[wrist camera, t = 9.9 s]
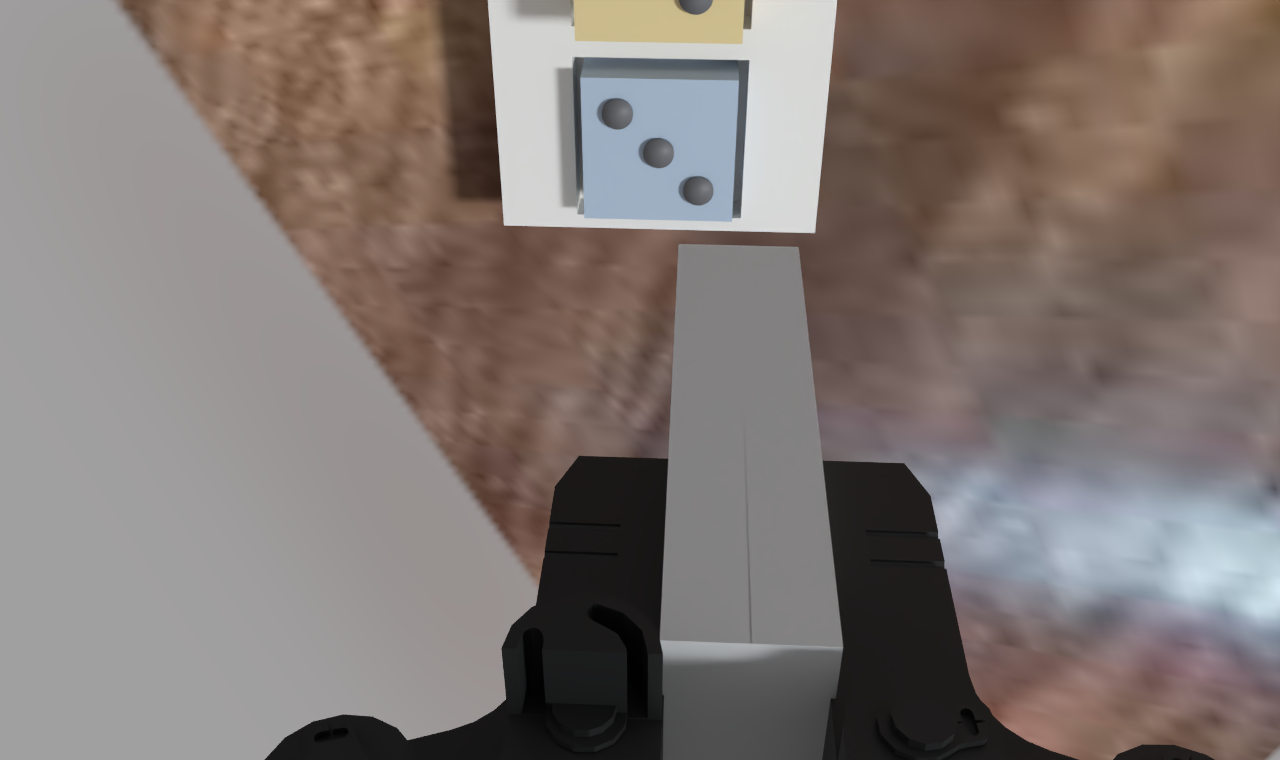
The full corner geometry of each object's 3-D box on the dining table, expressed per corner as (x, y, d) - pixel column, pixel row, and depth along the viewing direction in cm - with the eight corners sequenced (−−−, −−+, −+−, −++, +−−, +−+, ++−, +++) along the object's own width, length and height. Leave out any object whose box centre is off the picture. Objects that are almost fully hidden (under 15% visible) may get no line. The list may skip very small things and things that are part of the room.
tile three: (585, 53, 48) (579, 79, 46) (738, 56, 48) (739, 82, 46) (589, 189, 52) (584, 220, 50) (731, 193, 52) (732, 224, 50)
